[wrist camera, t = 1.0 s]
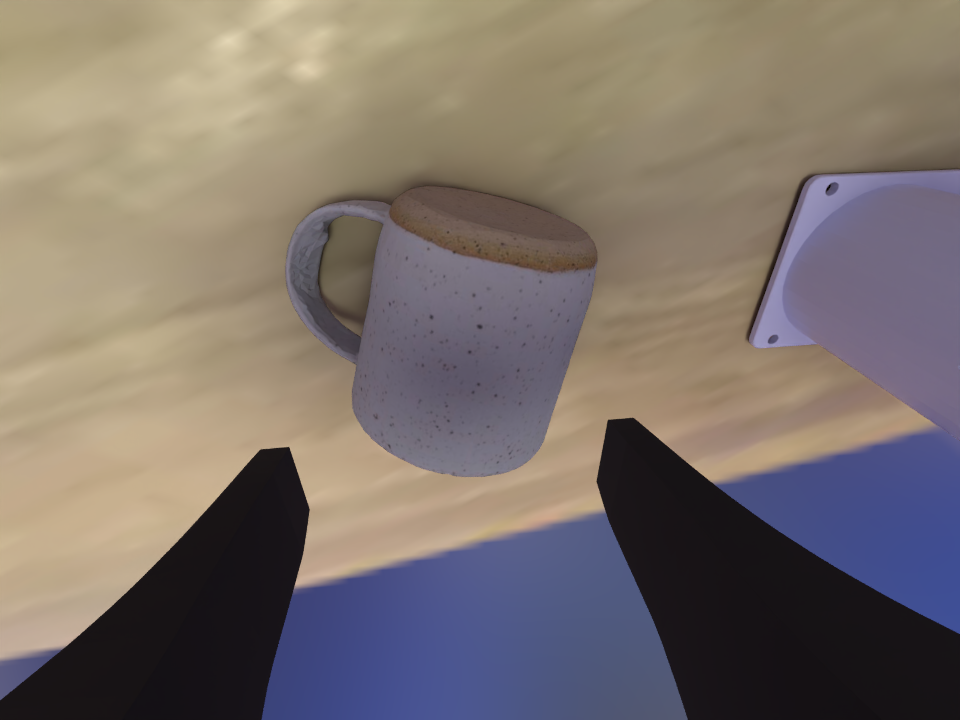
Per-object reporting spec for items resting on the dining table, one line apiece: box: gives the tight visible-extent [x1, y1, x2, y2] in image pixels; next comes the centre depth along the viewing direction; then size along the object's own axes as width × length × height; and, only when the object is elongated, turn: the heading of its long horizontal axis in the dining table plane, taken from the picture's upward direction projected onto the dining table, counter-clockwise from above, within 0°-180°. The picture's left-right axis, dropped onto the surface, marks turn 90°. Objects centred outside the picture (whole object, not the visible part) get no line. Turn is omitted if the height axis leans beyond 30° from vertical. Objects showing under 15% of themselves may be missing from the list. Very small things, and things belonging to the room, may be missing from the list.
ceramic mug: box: [286, 186, 597, 477], centre depth 16 cm, size 11×8×8 cm
